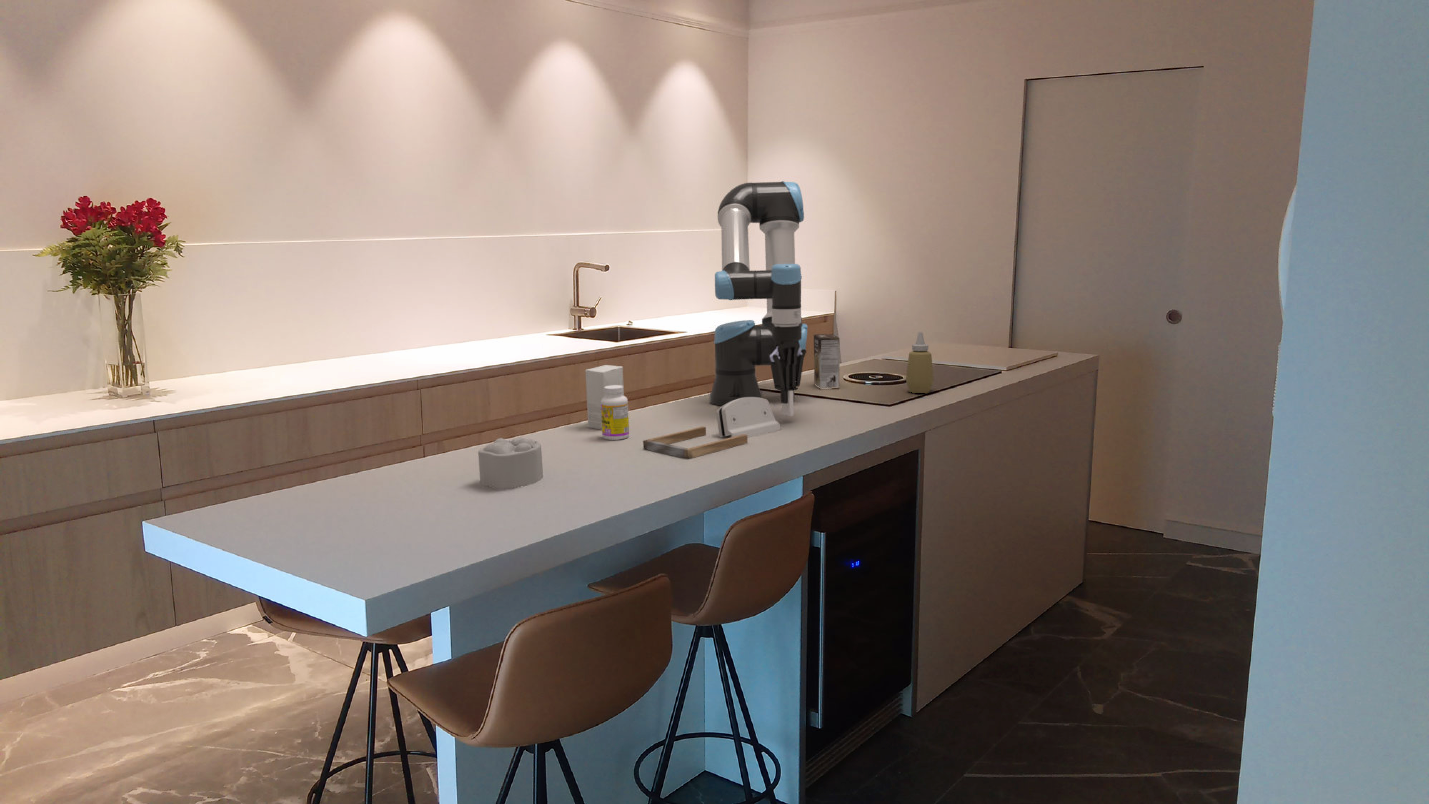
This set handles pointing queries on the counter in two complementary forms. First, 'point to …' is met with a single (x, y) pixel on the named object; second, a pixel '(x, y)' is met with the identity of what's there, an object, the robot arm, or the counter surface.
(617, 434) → the supplement bottle
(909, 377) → the squeeze bottle
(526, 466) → the lumpy-topped squat cylinder
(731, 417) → the grey piece
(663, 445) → the frame
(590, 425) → the skincare box
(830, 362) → the coffee box
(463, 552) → the counter surface
